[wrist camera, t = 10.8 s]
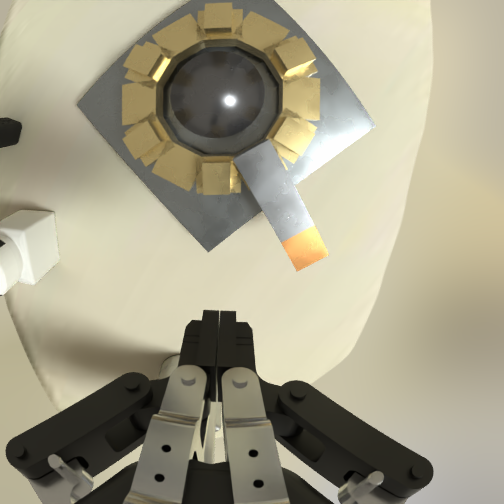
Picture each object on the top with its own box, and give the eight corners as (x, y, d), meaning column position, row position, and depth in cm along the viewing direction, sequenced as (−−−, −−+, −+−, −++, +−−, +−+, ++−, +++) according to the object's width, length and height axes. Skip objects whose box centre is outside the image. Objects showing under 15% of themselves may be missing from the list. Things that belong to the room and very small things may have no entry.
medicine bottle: (27, 254, 32) (-21, 296, 21) (20, 208, 29) (-36, 242, 18) (61, 260, 32) (13, 309, 21) (55, 211, 29) (-4, 249, 18)
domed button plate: (360, 125, 27) (399, 127, 19) (211, 237, 32) (203, 274, 24) (240, -12, 20) (240, -51, 12) (94, 106, 25) (51, 104, 17)
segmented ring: (255, -6, 17) (258, -27, 13) (372, 205, 26) (393, 219, 22) (104, 82, 20) (81, 76, 16) (231, 280, 28) (230, 304, 25)
